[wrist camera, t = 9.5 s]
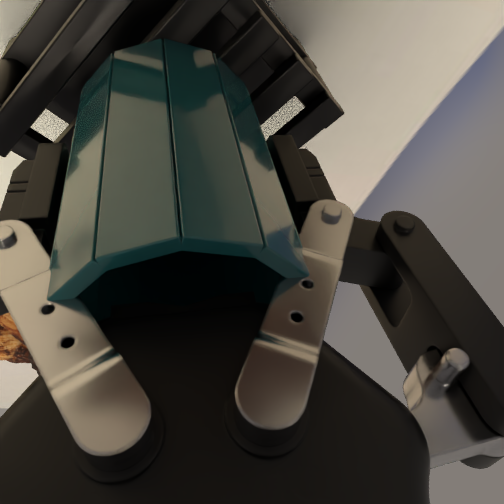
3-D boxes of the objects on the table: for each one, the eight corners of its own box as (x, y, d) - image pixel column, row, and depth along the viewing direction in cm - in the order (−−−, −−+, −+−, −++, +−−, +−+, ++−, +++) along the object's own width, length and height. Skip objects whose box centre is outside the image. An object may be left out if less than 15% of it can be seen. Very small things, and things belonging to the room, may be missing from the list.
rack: (146, -152, 16) (149, -123, 11) (305, 48, 22) (350, 121, 17) (3, 49, 20) (-40, 134, 15) (172, 170, 26) (179, 256, 21)
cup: (159, -5, 13) (177, 183, 7) (284, 123, 17) (365, 314, 11) (44, 131, 15) (-17, 357, 9) (176, 215, 19) (194, 412, 13)
